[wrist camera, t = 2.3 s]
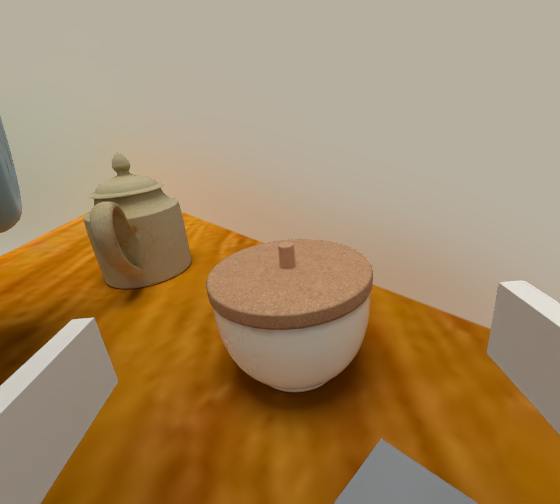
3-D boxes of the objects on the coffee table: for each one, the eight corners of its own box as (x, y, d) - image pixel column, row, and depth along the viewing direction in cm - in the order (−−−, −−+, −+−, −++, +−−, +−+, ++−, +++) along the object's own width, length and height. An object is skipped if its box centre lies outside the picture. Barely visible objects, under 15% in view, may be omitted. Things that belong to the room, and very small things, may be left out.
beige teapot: (217, 278, 38) (192, 146, 32) (118, 314, 32) (66, 163, 27) (177, 247, 49) (153, 146, 44) (99, 269, 44) (59, 157, 38)
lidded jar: (337, 454, 17) (332, 304, 13) (193, 386, 22) (162, 266, 19) (387, 337, 25) (392, 225, 22) (273, 308, 31) (262, 215, 27)
